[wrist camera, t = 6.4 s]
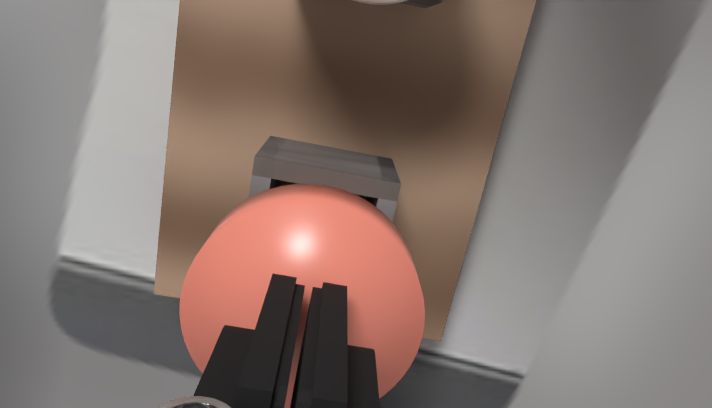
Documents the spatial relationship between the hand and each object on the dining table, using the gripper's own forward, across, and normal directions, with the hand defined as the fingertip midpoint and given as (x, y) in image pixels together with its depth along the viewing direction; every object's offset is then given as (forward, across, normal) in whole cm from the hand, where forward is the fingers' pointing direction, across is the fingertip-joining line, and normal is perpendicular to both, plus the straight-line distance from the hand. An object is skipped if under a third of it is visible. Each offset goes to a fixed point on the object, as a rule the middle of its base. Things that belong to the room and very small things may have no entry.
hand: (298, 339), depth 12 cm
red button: (+6, 0, 0) cm, 6 cm away
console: (+12, 0, -5) cm, 13 cm away
